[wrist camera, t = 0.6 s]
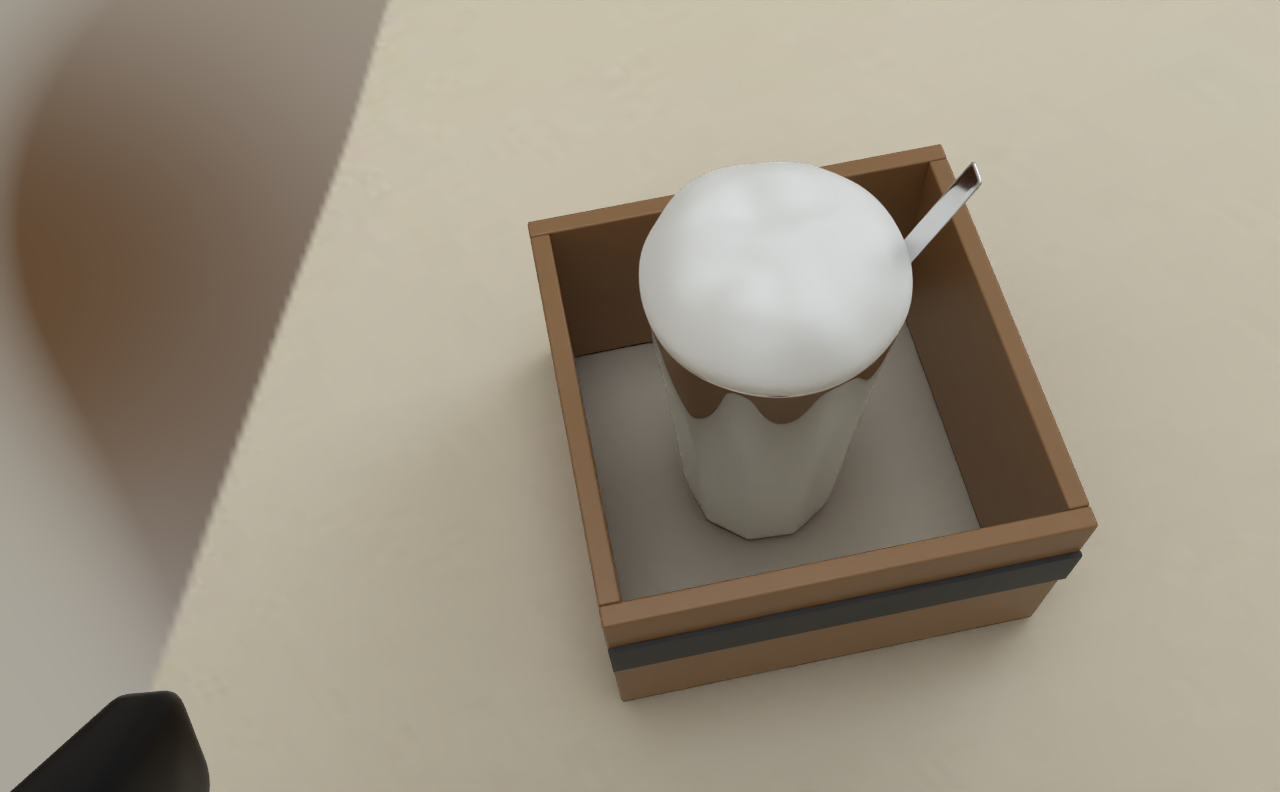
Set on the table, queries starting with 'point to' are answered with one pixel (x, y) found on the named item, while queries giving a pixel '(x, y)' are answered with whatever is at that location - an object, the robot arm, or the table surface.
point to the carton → (861, 583)
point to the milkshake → (776, 329)
